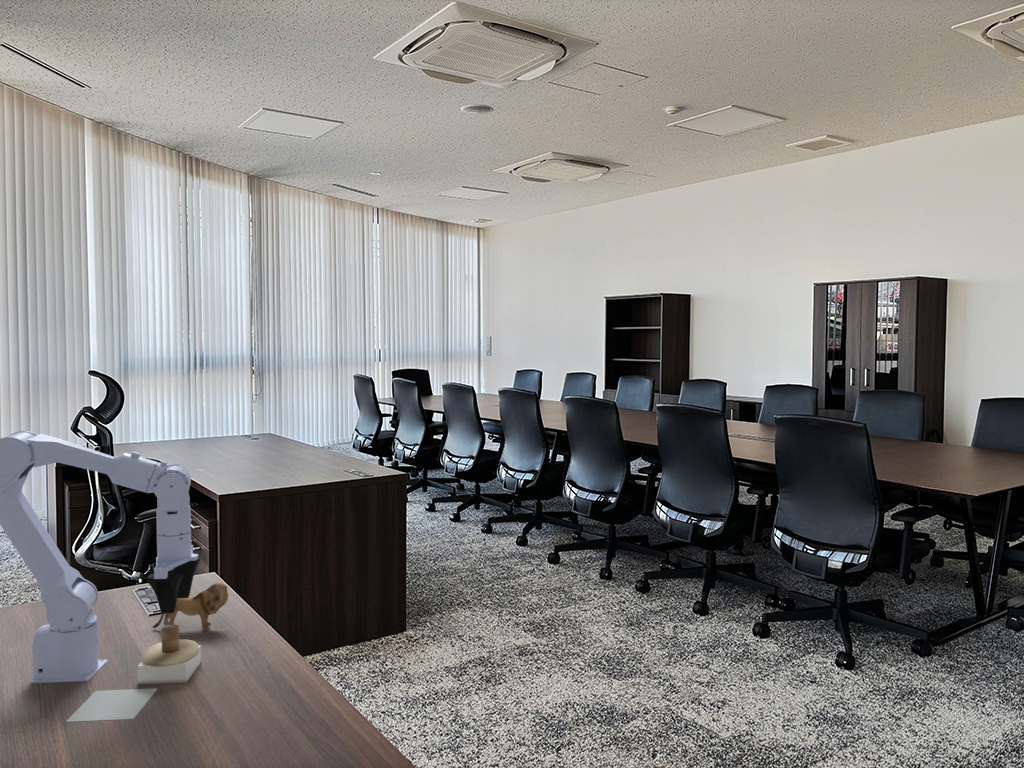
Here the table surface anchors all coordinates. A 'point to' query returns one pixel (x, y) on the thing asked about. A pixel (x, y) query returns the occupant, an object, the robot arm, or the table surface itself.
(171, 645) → the lid
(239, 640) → the table surface
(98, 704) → the mat
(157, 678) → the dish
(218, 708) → the table surface
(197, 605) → the lion figurine
